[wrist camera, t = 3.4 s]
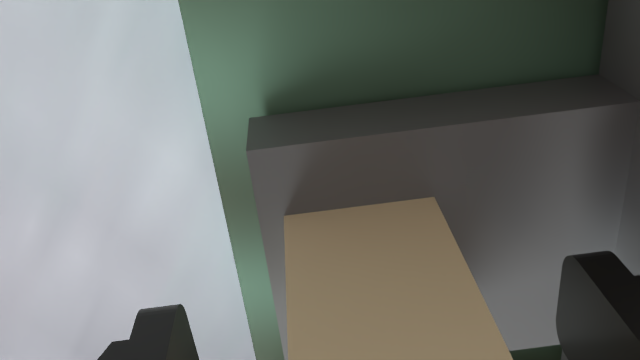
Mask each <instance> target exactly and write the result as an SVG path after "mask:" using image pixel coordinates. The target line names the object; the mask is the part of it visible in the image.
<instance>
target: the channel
mask: <svg viewBox="0 0 640 360" xmlns="http://www.w3.org/2000/svg"><path fill="white" fill-rule="evenodd" d="M178 2H179V6H180V11H181V15H182V20H183V25H184V29H185V34H186V38H187V43H188V48H189V52H190V57H191V61H192V66H193V71H194V75H195V80H196V84H197V89H198V94H199V98H200V103H201V107H202V112H203V117H204V121H205V126H206V130H207V135H208V140H209V144H210V149H211V153H212V158H213V163H214V167H215V172H216V176H217V181H218V186H219V190H220V195H221V199H222V204H223V209H224V213H225V218H226V222H227V227H228V232H229V236H230V241H231V245H232V250H233V255H234V259H235V264H236V268H237V273H238V278H239V282H240V287H241V291H242V296H243V301H244V305H245V310H246V314H247V319H248V324H249V328H250V333H251V337H252V342H253V347H254V351H255V356H256V360H285V359H284V354H283V349H282V343H281V338H280V332H279V327H278V322H277V316H276V311H275V305H274V300H273V294H272V289H271V284H270V278H269V273H268V267H267V262H266V257H265V251H264V246H263V240H262V235H261V230H260V224H259V219H258V213H257V208H256V203H255V197H254V192H253V186H252V181H251V176H250V170H249V165H248V159H247V154H246V145H247V135H248V124H249V118H252V117H260V116H268V115H276V114H284V113H292V112H300V111H308V110H316V109H324V108H332V107H340V106H348V105H356V104H364V103H372V102H380V101H388V100H396V99H404V98H412V97H420V96H428V95H436V94H444V93H452V92H460V91H468V90H476V89H484V88H492V87H500V86H508V85H516V84H524V83H533V82H541V81H549V80H557V79H565V78H573V77H581V76H589V75H597V74H599V67H600V60H601V52H602V45H603V37H604V30H605V22H606V14H607V7H608V0H178ZM509 352H510V354H511V356H512V358H513V360H561V354H562V348H561V345H552V346H544V347H537V348H529V349H521V350H514V351H509Z"/></svg>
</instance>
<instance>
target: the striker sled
mask: <svg viewBox="0 0 640 360" xmlns="http://www.w3.org/2000/svg"><path fill="white" fill-rule="evenodd" d="M246 154H247V159H248V165H249V170H250V176H251V181H252V186H253V192H254V197H255V203H256V208H257V213H258V219H259V224H260V230H261V235H262V240H263V246H264V251H265V257H266V262H267V267H268V273H269V278H270V284H271V289H272V294H273V300H274V305H275V311H276V316H277V322H278V327H279V332H280V338H281V343H282V349H283V354H284V359H285V360H513V358H512V356H511V354H510V352H509V351H514V350H521V349H529V348H537V347H544V346H552V345H560V342H559V339H558V335H557V330H556V312H557V304H558V295H559V287H560V279H561V271H562V264H563V260H564V259H565V257H566V256H569V255H576V254H584V253H592V252H600V251H611V252H613V253H614V254H615V255H616V256H617V257H618V258H619V259H620V260H621V262H622V263H623V264H624V265H625V266H626V267H627V268H628V270H629V271H630V272H631V273H632V274H633V275H634V276H636V275H640V0H608V7H607V14H606V22H605V30H604V37H603V45H602V52H601V60H600V67H599V74H597V75H589V76H581V77H573V78H565V79H557V80H549V81H541V82H533V83H524V84H516V85H508V86H500V87H492V88H484V89H476V90H468V91H460V92H452V93H444V94H436V95H428V96H420V97H412V98H404V99H396V100H388V101H380V102H372V103H364V104H356V105H348V106H340V107H332V108H324V109H316V110H308V111H300V112H292V113H284V114H276V115H268V116H260V117H252V118H249V124H248V135H247V145H246ZM561 360H568V359H567V357H566V355H565V354H564V352H563V350H562V354H561Z"/></svg>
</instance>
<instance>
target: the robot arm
mask: <svg viewBox="0 0 640 360" xmlns="http://www.w3.org/2000/svg"><path fill="white" fill-rule="evenodd" d="M556 330H557V335H558V339H559V342H560V345H561V348H562V350H563V352H564V354H565V355H566V357H567V359H568V360H640V275H636V276H634V275H633V274H632V273H631V272H630V271H629V270H628V268H627V267H626V266H625V265H624V264H623V263H622V262H621V260H620V259H619V258H618V257H617V256H616V255H615V254H614V253H613V252H611V251H600V252H592V253H584V254H576V255H569V256H566V257H565V259H564V260H563V264H562V271H561V279H560V287H559V295H558V304H557V312H556ZM98 360H199V357H198V354H197V350H196V347H195V343H194V340H193V336H192V332H191V329H190V325H189V322H188V318H187V315H186V312H185V309H184V307H183V306H182V305H181V304H178V305H170V306H163V307H155V308H147V309H141V310H139V312H138V313H137V316H136V319H135V323H134V326H133V329H132V333H131V336H130V339H129V340H123V341H115V342H112V343H111V344H110V345H109V346H108V347H107V349H106V350H105V351H104V352H103V353H102V355H101V356H100V357H99V358H98Z"/></svg>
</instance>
